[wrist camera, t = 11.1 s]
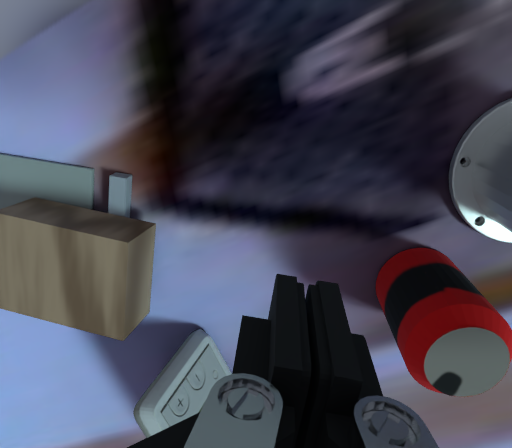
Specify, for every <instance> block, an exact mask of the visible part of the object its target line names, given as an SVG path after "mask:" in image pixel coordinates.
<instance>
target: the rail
mask: <svg viewBox="0 0 512 448" xmlns="http://www.w3.org/2000/svg"><path fill="white" fill-rule="evenodd" d="M131 189H132V175H130V174H124V173H118V172H115V173H114V174H112V175H110V179H109V205H108V213H109V214H114V215H118V216H123V217H127V218H130V207H131Z"/></svg>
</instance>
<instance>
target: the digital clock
mask: <svg viewBox="0 0 512 448" xmlns="http://www.w3.org/2000/svg"><path fill="white" fill-rule="evenodd" d="M228 375H231V372H230V370H229V368H228V366H227V365H226V363H225V361H224V359H223V357H222V355H221V354H220V352H219V350H218V348H217V346H216V345H215V343H214V341H213V340H212V338H211V337H210V336H209V335H208V334H207V333H206V332H204V331H203V330H201V329H199V330H196V331H194V332H193V333H191V334H190V335H189V336H188V338H187V339H186V340H185V341H184V343H183V344H182V345H181V347H180V348H179V349H178V350H177V352H176V353H175V354H174V356H173V357H172V358H171V359H170V361H169V362H168V363H167V365H166V366H165V367H164V368H163V370H162V371H161V372H160V374H159V375H158V376H157V377H156V379H155V380H154V381H153V383H152V384H151V385H150V386H149V388H148V389H147V390H146V392H145V393H144V394H143V396H142V397H141V398H140V400H139V401H138V403H137V404H136V406H135V408H134V417H135V420H136V422H137V423H138V425H139V427H140V428H141V430H142V431H143V433H144V435H145V436H146V438H148V437H150V436H152V435H154V434H156V433H158V432H160V431H162V430H164V429H166V428H168V427H170V426H172V425H174V424H176V423H178V422H181V421H183V420H185V419H187V418H189V417H191V416H193V415H195V414H197V413H199V412H201V410H202V407H203V405H204V403H205V401H206V399H207V397H208V395H209V392H210V390H211V388H212V387H213V385H214V384H215V383H216V382H217V381H218V380H220V379H221V378H223V377H225V376H228Z"/></svg>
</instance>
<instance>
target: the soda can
mask: <svg viewBox="0 0 512 448" xmlns="http://www.w3.org/2000/svg"><path fill="white" fill-rule="evenodd" d="M376 295H377V298H378V300H379V303H380V305H381V307H382V310H383V312H384V315H385V317H386V319H387V322H388V324H389V326H390V329H391V331H392V333H393V336H394V338H395V340H396V343H397V345H398V348H399V350H400V352H401V355H402V357H403V359H404V362H405V364H406V366H407V369H408V371H409V372H410V374H411V375H412V377H413V378H414V379H415V380H416V381H417V382H418V383H419V384H421V385H422V386H424V387H426V388H427V389H430V390H432V391H435V392H438V393H444V394H447V395H450V396H455V397H470V396H475V395H479V394H482V393H484V392H486V391H488V390H490V389H491V388H493V387H495V386H496V385H497V384H498V383H499V382H500V381H501V380H502V379H503V377H504V376H505V375H506V372H507V370H508V368H509V364H510V361H511V359H512V330H511V328H510V326H509V325H508V323H507V322H506V321H505V319H504V318H503V317H502V316H501V315H500V314H499V313H498V312H497V311H496V310H495V308H494V307H493V306H492V305H491V304H490V303H489V302H488V301H487V300H486V299H485V297H484V296H483V295H482V294H481V293H480V292H479V291H478V290H477V289H476V288H475V286H474V285H473V284H472V283H471V282H470V281H469V280H468V279H467V278H466V277H465V275H464V274H463V273H462V272H461V271H460V270H459V269H458V268H457V267H456V266H455V265H454V263H453V262H452V261H451V260H450V259H449V258H448V257H447V256H445V255H444V254H442V253H441V252H438V251H436V250H434V249H428V248H413V249H408V250H405V251H402V252H400V253H398V254H396V255H394V256H393V257H392V258H390V259H389V260H388V261H387V262H386V263H385V264H384V266H383V267H382V268H381V270H380V272H379V274H378V277H377V280H376Z"/></svg>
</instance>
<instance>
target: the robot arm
mask: <svg viewBox="0 0 512 448" xmlns="http://www.w3.org/2000/svg"><path fill="white" fill-rule="evenodd" d="M462 158H464V161H463V162H462V163H460V160H461V159H462ZM449 191H450V194H451V198H452V202H453V204H454V206H455V208H456V210H457V212H458V213H459V215H460V216H461V217H462V218H463V219H464V221H465V222H466V223H467V224H468V225H470V226H471V227H472V228H473V229H474V230H476V231H478V232H479V233H481V234H482V235H484V236H486V237H488V238H491V239H494V240H497V241H501V242H507V243H512V98H511V99H508V100H506V101H503V102H501V103H499V104H497V105H496V106H494V107H492V108H491V109H489V110H488V111H486V112H485V113H484V114H483V115H481V116H480V117H479V118H478V119H477V120H476V121H475V122H473V124H472V125H471V126H470V127H469V129H468V130H467V131H466V132H465V133H464V135H463V136H462V138H461V140H460V142H459V143H458V145H457V147H456V149H455V152H454V154H453V157H452V160H451V164H450V170H449ZM477 217H478V219H477V220H476V221H475V219H476V218H477ZM127 448H439V447H438V445H437V443H436V442H435V440H434V438H433V437H432V435H431V433H430V431H429V430H428V428H427V426H426V425H425V423H424V422H423V420H422V419H421V418H420V417H419V415H418V414H416V413H415V412H414V411H413V410H412V409H411V408H409V407H408V406H406V405H404V404H403V403H401V402H399V401H396V400H394V399H391V398H388V397H383V394H382V391H381V388H380V385H379V382H378V378H377V375H376V372H375V369H374V365H373V362H372V359H371V356H370V353H369V349H368V346H367V343H366V340H365V338H364V336H363V335H358V334H352V333H351V332H350V328H349V324H348V320H347V317H346V313H345V309H344V305H343V301H342V298H341V294H340V290H339V286H338V284H336V283H330V282H323V281H317V282H316V285H309V286H308V289H307V294H306V298H305V293H304V284H303V283H297V277H293V276H287V275H281V274H277V275H276V279H275V284H274V290H273V295H272V301H271V306H270V311H269V317H268V320H267V319H261V318H255V317H249V316H243V315H242V321H241V327H240V333H239V338H238V344H237V350H236V356H235V361H234V367H233V373H232V374H231V375H228V376H225V377H223V378H221V379H220V380H218V381H217V382H216V383H215V384H214V385H213V387H212V388H211V390H210V392H209V395H208V397H207V399H206V401H205V403H204V405H203V407H202V410H201V412H199V413H197V414H195V415H193V416H191V417H189V418H187V419H185V420H183V421H181V422H178V423H176V424H174V425H172V426H170V427H168V428H166V429H164V430H162V431H160V432H158V433H156V434H154V435H152V436H150V437H148V438H146V439H144V440H142V441H140V442H138V443H136V444H134V445H131V446H129V447H127Z"/></svg>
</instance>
